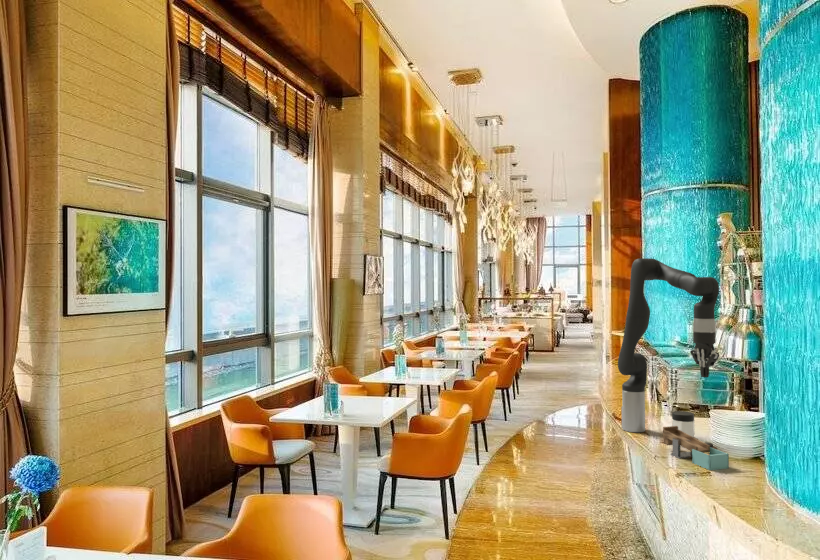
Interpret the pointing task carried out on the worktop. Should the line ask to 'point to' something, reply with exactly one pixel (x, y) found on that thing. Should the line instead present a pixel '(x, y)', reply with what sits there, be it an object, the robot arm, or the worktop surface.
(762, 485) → the worktop surface
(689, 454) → the fulcrum
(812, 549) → the worktop surface
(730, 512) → the worktop surface
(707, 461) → the box
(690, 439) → the lever
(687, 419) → the jar
